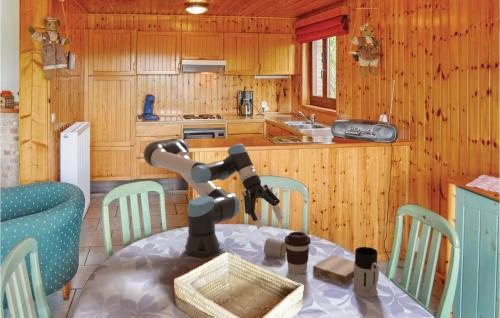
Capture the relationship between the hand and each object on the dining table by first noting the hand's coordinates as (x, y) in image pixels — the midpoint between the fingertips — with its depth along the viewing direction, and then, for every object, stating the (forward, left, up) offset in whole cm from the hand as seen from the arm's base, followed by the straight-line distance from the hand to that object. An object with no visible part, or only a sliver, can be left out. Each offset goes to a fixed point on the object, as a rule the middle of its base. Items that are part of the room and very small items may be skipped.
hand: (271, 223), depth 182 cm
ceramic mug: (-1, +4, -16) cm, 16 cm away
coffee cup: (+15, -3, -15) cm, 22 cm away
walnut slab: (+28, +6, -15) cm, 33 cm away
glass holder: (+45, -3, -15) cm, 48 cm away
